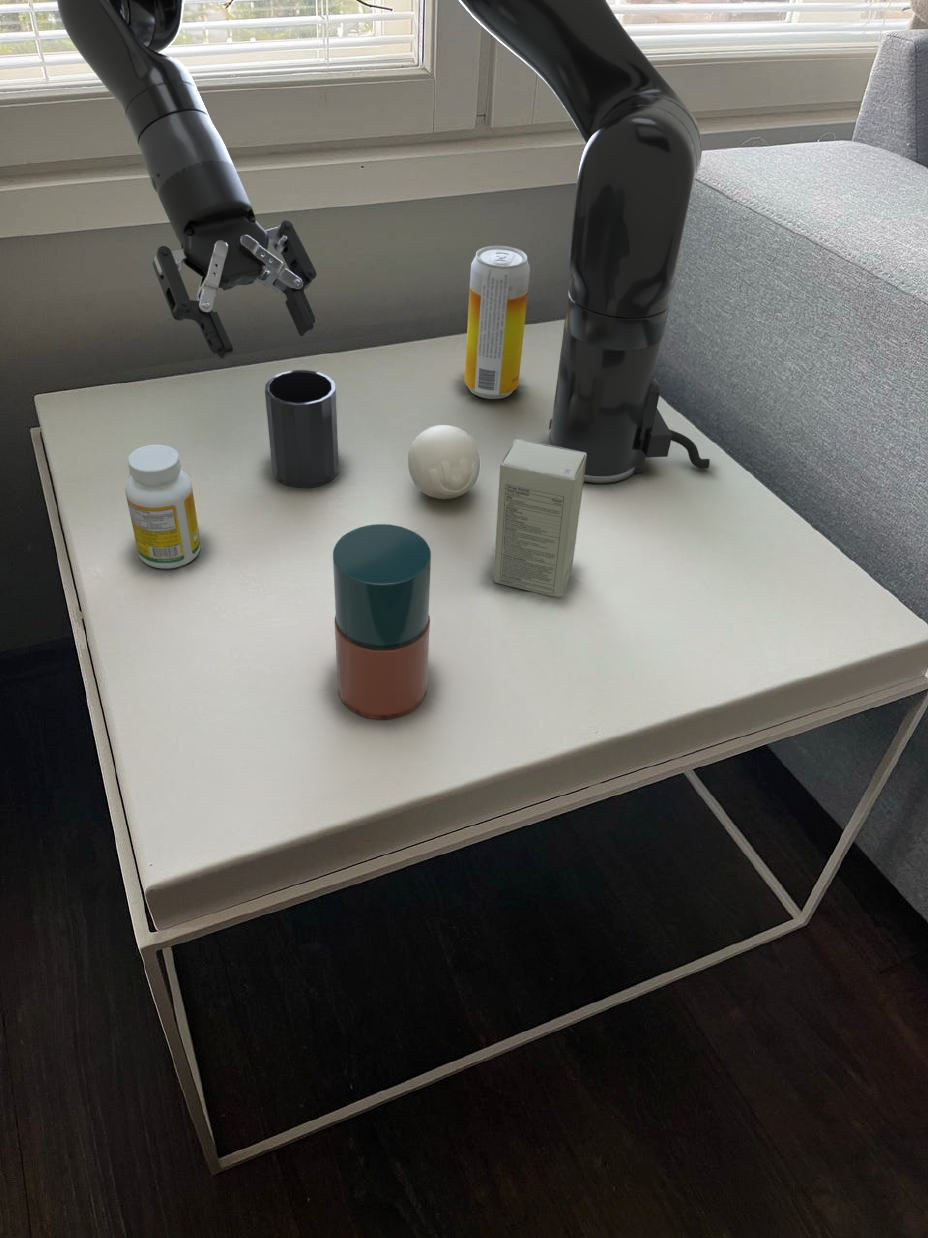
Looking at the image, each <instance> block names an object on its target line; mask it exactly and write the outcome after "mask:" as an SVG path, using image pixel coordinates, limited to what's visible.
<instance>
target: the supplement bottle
mask: <svg viewBox="0 0 928 1238" xmlns="http://www.w3.org/2000/svg"><path fill="white" fill-rule="evenodd" d="M127 464H128V469H129V474H130V476H129V477H128V479H127V481H126V483H125V487H124V491H125V493H124V494H125V498H126V502H127V508H128V512H129V516H130V517H129V518H130V521H131V526H132V530H133V531H132V532H133V535H134V541H135V545H136V550H137V555H138V556H139V558H140V560H141V561H142V562H143V563H145V564H146V565H148V566H150V567H153V568H156V569H163V570H164V569H166V570H167V569H168V570H169V569H176V568H179V567H183V566H185V565H187V564H189V563H190V562H192V561H194V559H195V558H196V557H197V556H198V554H199V553H200V550H201V546H202V543H201V537H200V530H199V524H198V518H197V517H198V516H197V510H196V502H195V496H194V490H193V483H192V481H191V478H190V476H189V475H188V474H187V473H186V472H185V471H184V470H182V463H181V460H180V454H179V453H178V451H177V450H176V449H175V448H173V447H171V446H169V445H165V444H148V445H144V446H141V447H139V448H138V447H137V448H136V449H135V450H133V451H132V452H131V453H130V454H129V456H128V458H127Z"/></svg>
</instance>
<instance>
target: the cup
mask: <svg viewBox="0 0 928 1238" xmlns="http://www.w3.org/2000/svg"><path fill="white" fill-rule="evenodd" d="M336 389H337V388H336V382H335V381H334V380H333V379H332V378H331V377H330V376H328V375H326V374H325V373H322V372H320V371H314V370H309V369H294V370H288V371H283V372H279V373H277V374H275V375H273V376H271V377H270V378H269V379H268V380H267V382H266V383H265V384H264V396H265V397H264V398H265V409H266V418H267V429H268V439H269V449H270V450H269V451H270V461H271V469H272V475H273V476H274V478H275V479H276V480H277V481H279V482H280V483H282V484H283V485H286V486H289V487H292V488H298V489H299V488H301V489H307V488H309V489H310V488H317V487H320V486H324V485H325V484H327V483H329V482H331V481H333V480H334V478H336V477H337V475H338V473H339V469H340V468H339V467H340V464H339V463H340V461H339V442H338V441H339V437H338V414H337V412H338V411H337V390H336Z"/></svg>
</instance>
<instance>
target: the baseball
mask: <svg viewBox="0 0 928 1238" xmlns="http://www.w3.org/2000/svg"><path fill="white" fill-rule="evenodd" d="M407 465H408V472H409V475H410V478H411V480H412V482H413V484H414V485H415V487H416V488H417V489H418V490H419V491H420V492H422V493H423V494H425V495H426V496H428V497H431V498H434V499H438V500H451V499H455V498H458V497H460V496H462V495H464V494H466V493H467V492H468V491H469V490H471V489H472V488H473V486H474V485H475V484H476V482H477V480H478V477H479V475H480V471H481V455H480V451H479V447H478V445H477V443H476V441H475V440H474V439H473V437H471V435H470V434H468V432H466V431H465V430H464V429H461V428H460V427H457V426H454V425H448V424H438V425H433V426H430V427H428V428H426V429H424V430H423V431H422V432H420V433H419V434H418V435H417V436H416V437H415V439H414V440H413V441H412V442H411V445H410V447H409V449H408V453H407Z"/></svg>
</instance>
